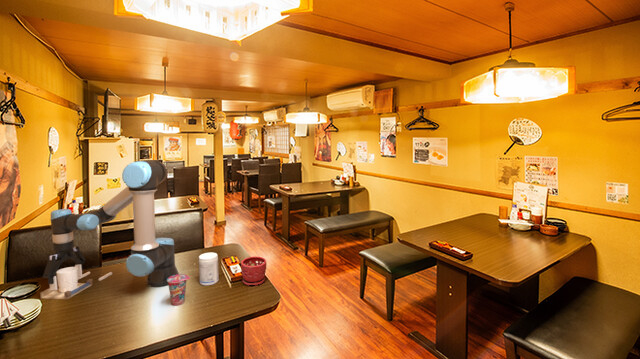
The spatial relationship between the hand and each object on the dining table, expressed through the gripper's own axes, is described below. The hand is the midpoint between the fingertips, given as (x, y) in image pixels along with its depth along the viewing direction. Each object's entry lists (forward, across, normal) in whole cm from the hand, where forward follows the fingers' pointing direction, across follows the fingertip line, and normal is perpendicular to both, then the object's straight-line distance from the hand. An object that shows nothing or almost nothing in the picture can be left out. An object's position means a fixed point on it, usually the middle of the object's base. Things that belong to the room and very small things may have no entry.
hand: (67, 283), depth 141 cm
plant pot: (+4, -15, +89) cm, 90 cm away
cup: (+4, +7, +60) cm, 61 cm away
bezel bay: (+4, 0, 0) cm, 4 cm away
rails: (+4, -16, 0) cm, 17 cm away
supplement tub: (+4, -14, +65) cm, 67 cm away
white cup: (+4, 0, 0) cm, 4 cm away
